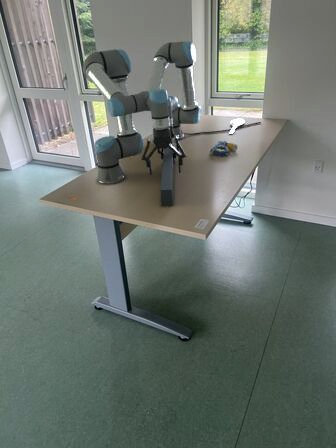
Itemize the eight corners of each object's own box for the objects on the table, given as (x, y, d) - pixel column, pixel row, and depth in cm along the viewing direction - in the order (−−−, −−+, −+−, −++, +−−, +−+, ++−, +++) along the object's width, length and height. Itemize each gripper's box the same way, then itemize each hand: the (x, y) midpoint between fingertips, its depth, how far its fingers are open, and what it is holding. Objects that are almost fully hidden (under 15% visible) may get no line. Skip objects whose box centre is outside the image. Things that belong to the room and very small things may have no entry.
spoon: (237, 136, 244) (237, 133, 243) (223, 136, 248) (223, 133, 247) (246, 120, 270) (246, 118, 269) (232, 120, 274) (232, 117, 273)
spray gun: (240, 146, 220) (218, 145, 226) (240, 140, 217) (218, 139, 224) (230, 158, 204) (207, 156, 211) (230, 151, 202) (207, 150, 208)
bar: (165, 161, 209) (164, 147, 205) (173, 160, 209) (172, 147, 204) (161, 206, 158) (160, 190, 154) (172, 205, 158) (171, 189, 154)
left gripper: (131, 131, 143) (138, 177, 154) (190, 127, 141) (192, 174, 152) (133, 127, 149) (139, 171, 160) (189, 122, 148) (191, 167, 159)
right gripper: (149, 128, 188) (154, 167, 200) (182, 126, 187) (184, 165, 199) (150, 124, 195) (154, 162, 207) (182, 122, 193) (184, 160, 206)
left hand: (165, 172), depth 156 cm, fingers open, 13 cm apart
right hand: (169, 163), depth 203 cm, fingers closed on bar, 5 cm apart
